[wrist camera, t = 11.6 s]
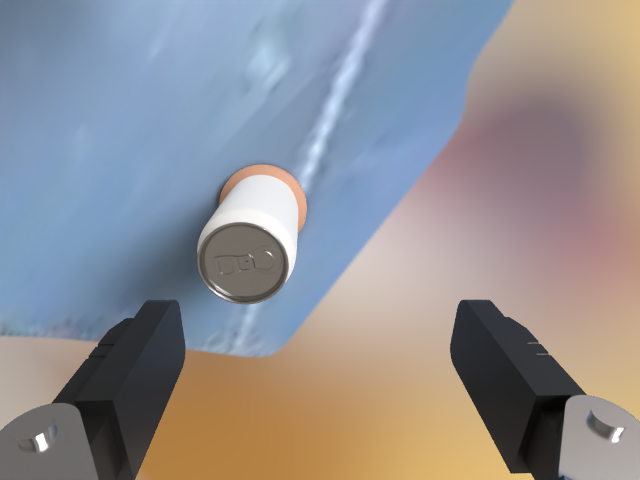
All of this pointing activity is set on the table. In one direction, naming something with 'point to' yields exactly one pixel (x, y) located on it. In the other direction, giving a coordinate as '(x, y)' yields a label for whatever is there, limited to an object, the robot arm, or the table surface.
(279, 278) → the can
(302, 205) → the peach round disc
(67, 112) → the table surface
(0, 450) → the robot arm
